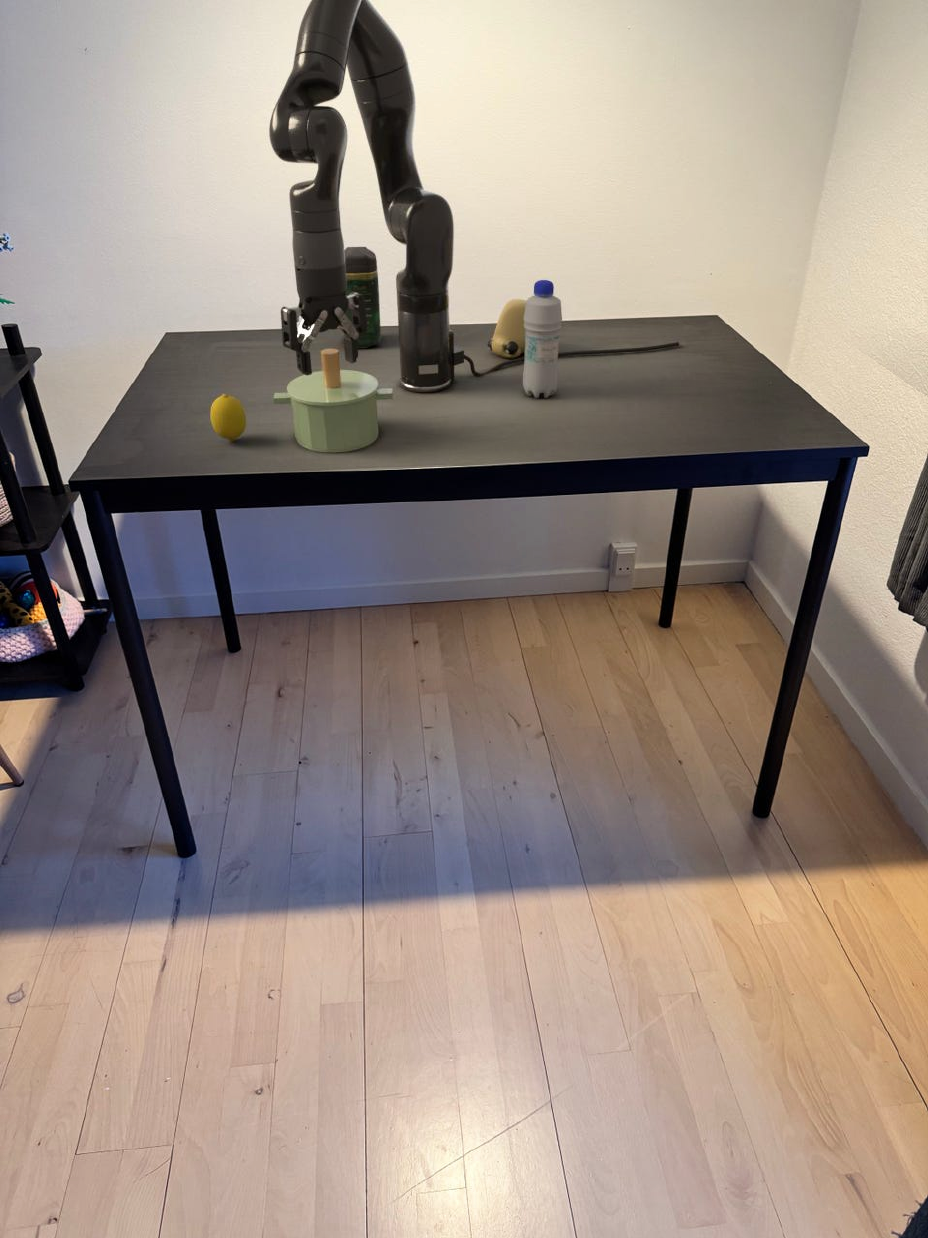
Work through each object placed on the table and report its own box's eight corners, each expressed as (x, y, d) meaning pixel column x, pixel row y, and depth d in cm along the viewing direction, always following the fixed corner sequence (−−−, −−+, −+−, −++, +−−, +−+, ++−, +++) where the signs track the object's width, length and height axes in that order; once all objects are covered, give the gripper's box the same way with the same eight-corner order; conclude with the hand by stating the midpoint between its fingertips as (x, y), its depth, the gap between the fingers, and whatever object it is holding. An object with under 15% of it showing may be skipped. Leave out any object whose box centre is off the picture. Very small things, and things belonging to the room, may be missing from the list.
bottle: (533, 403, 158) (537, 287, 147) (514, 390, 163) (517, 278, 152) (565, 396, 161) (572, 282, 149) (545, 384, 166) (550, 273, 154)
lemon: (241, 449, 143) (233, 401, 138) (209, 446, 144) (200, 399, 139) (254, 435, 147) (247, 389, 143) (223, 433, 148) (215, 386, 144)
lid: (290, 378, 148) (285, 338, 145) (378, 374, 150) (375, 335, 146) (284, 411, 137) (278, 368, 133) (379, 407, 138) (376, 365, 134)
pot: (282, 421, 152) (276, 376, 148) (393, 417, 154) (391, 371, 149) (276, 455, 141) (269, 407, 136) (396, 449, 142) (393, 402, 138)
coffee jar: (382, 348, 184) (377, 253, 173) (344, 350, 183) (336, 255, 172) (380, 334, 191) (375, 242, 181) (343, 335, 191) (336, 243, 180)
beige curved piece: (499, 364, 186) (469, 338, 177) (527, 313, 185) (499, 284, 177) (532, 375, 179) (502, 348, 171) (561, 322, 178) (533, 292, 170)
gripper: (344, 248, 138) (351, 352, 147) (264, 263, 130) (277, 371, 139) (373, 257, 133) (379, 363, 142) (292, 272, 125) (304, 384, 135)
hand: (328, 367), depth 141 cm, fingers open, 8 cm apart
